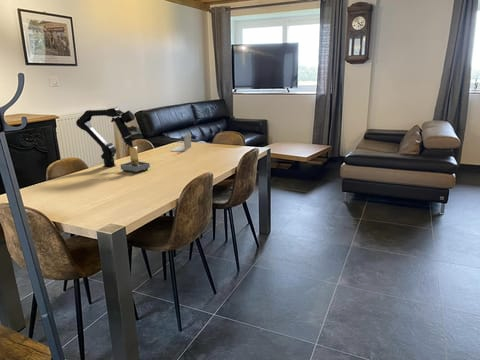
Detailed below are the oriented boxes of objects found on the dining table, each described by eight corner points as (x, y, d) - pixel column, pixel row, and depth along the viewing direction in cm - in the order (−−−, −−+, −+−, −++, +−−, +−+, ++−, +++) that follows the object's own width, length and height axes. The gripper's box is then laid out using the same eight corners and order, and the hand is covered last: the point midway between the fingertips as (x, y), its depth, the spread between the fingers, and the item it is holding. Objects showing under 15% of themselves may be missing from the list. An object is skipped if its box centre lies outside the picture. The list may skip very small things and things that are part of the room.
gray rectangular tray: (121, 171, 237) (120, 164, 235) (134, 167, 247) (134, 160, 245) (136, 173, 230) (135, 167, 229) (150, 169, 240) (149, 163, 238)
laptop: (177, 147, 312) (176, 132, 308) (191, 147, 310) (190, 132, 306) (170, 151, 295) (169, 135, 291) (185, 151, 293) (184, 135, 289)
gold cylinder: (130, 167, 235) (128, 148, 232) (132, 165, 240) (130, 146, 236) (137, 166, 235) (135, 147, 232) (139, 165, 240) (137, 146, 236)
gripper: (133, 119, 234) (144, 141, 237) (132, 122, 251) (142, 142, 254) (117, 126, 231) (128, 148, 234) (117, 128, 248) (127, 149, 251)
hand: (132, 147), depth 243 cm, fingers open, 9 cm apart
